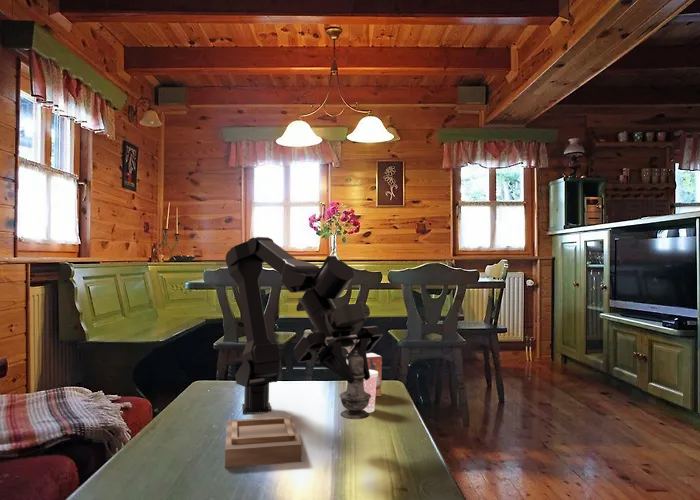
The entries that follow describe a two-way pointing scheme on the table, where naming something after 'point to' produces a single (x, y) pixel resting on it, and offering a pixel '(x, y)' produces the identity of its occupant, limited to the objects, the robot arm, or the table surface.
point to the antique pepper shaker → (355, 391)
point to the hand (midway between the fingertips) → (360, 380)
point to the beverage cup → (371, 390)
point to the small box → (376, 365)
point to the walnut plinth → (262, 442)
